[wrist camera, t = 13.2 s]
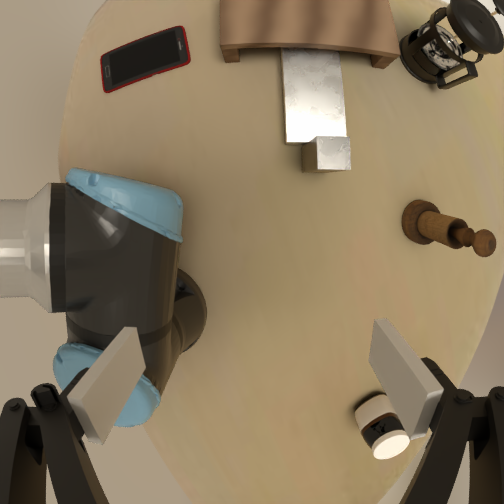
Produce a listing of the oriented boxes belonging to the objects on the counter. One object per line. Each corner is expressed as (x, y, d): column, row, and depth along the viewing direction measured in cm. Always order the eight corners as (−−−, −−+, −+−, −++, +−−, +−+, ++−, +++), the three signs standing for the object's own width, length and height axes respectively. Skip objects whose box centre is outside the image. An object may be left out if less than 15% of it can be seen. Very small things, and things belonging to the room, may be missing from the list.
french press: (389, 30, 34) (458, -41, 12) (433, 34, 34) (509, -19, 11) (410, 93, 37) (504, 47, 15) (453, 94, 36) (548, 63, 14)
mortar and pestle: (395, 212, 42) (464, 233, 24) (425, 192, 41) (501, 204, 23) (411, 249, 43) (479, 286, 25) (440, 229, 42) (513, 256, 24)
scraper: (286, 172, 41) (295, 169, 29) (280, 49, 37) (285, 9, 25) (341, 172, 41) (370, 170, 29) (333, 52, 36) (355, 15, 25)
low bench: (225, 62, 37) (220, 45, 31) (225, 2, 35) (220, -20, 28) (383, 68, 36) (400, 54, 30) (372, 9, 34) (385, -9, 27)
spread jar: (346, 406, 50) (360, 449, 39) (394, 372, 48) (418, 411, 37) (374, 431, 52) (388, 469, 41) (417, 400, 50) (438, 436, 39)
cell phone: (102, 57, 37) (99, 55, 36) (184, 26, 36) (183, 23, 35) (105, 95, 39) (103, 94, 38) (192, 64, 38) (190, 62, 37)
